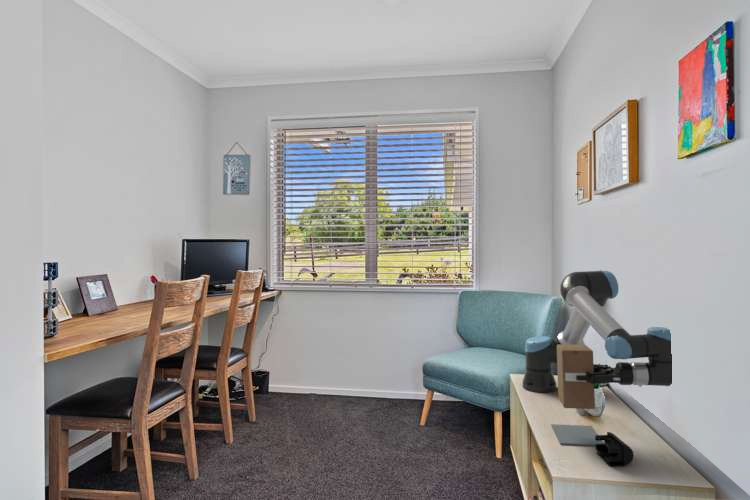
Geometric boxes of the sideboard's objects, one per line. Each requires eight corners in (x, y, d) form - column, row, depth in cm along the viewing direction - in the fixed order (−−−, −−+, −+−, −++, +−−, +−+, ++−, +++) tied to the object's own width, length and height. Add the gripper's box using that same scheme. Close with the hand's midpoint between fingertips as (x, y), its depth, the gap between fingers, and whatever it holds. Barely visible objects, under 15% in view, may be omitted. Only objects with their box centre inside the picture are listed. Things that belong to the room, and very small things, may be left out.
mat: (551, 425, 168) (551, 424, 168) (591, 427, 165) (591, 425, 165) (560, 444, 152) (560, 442, 152) (605, 446, 149) (605, 444, 149)
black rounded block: (634, 467, 135) (633, 445, 135) (610, 468, 136) (609, 445, 136) (617, 452, 145) (616, 431, 145) (595, 452, 146) (594, 431, 146)
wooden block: (595, 409, 152) (593, 350, 152) (564, 408, 154) (561, 350, 154) (587, 399, 162) (585, 344, 162) (558, 398, 164) (556, 344, 164)
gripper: (643, 395, 144) (569, 393, 148) (619, 375, 166) (555, 374, 170) (643, 371, 144) (569, 370, 148) (619, 355, 166) (555, 354, 170)
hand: (562, 372), depth 159 cm, fingers closed on wooden block, 10 cm apart
